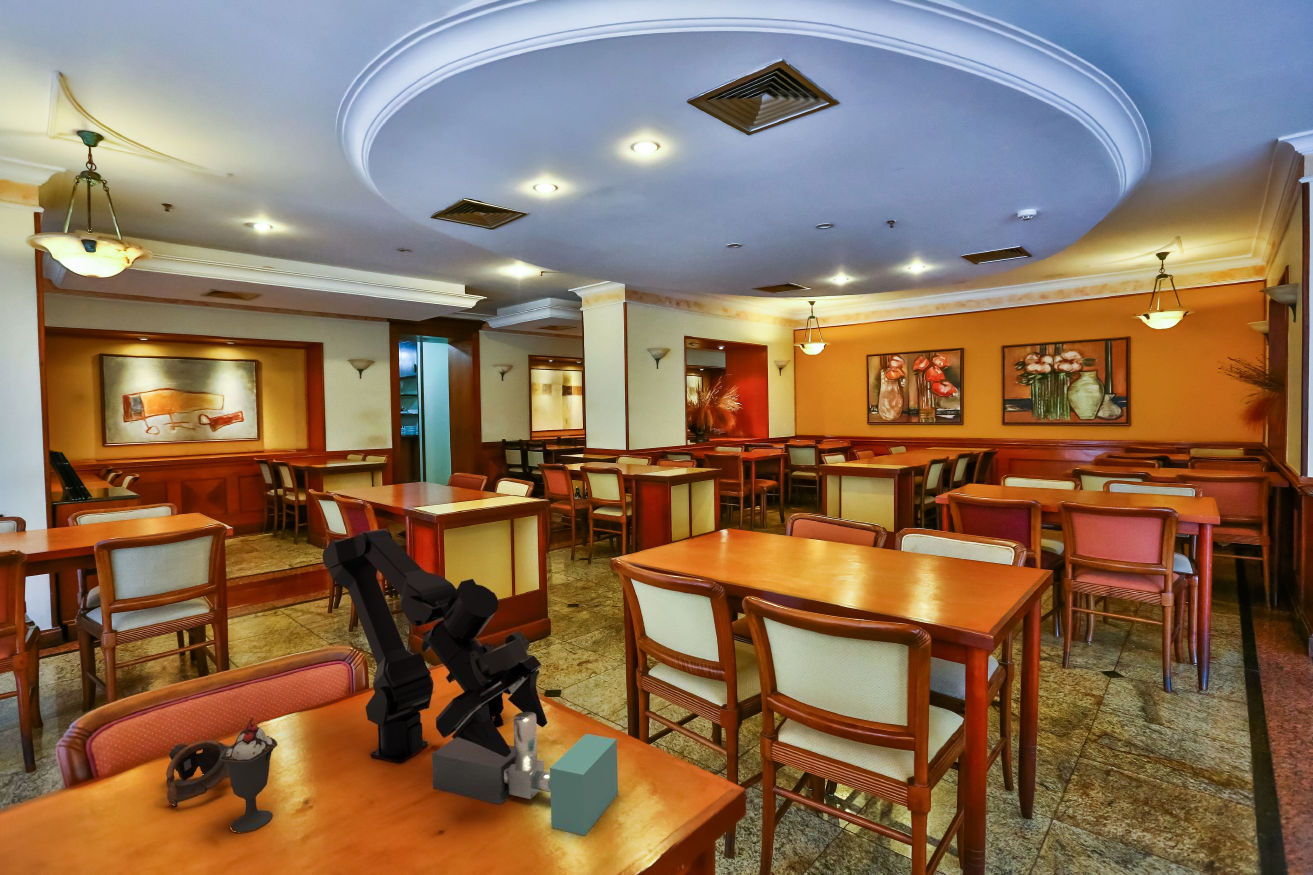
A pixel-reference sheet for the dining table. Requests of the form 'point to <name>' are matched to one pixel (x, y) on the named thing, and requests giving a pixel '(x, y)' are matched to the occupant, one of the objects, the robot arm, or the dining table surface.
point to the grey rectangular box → (471, 771)
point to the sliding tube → (526, 760)
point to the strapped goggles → (187, 764)
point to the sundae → (249, 774)
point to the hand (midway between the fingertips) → (527, 739)
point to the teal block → (583, 784)
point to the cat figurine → (496, 709)
